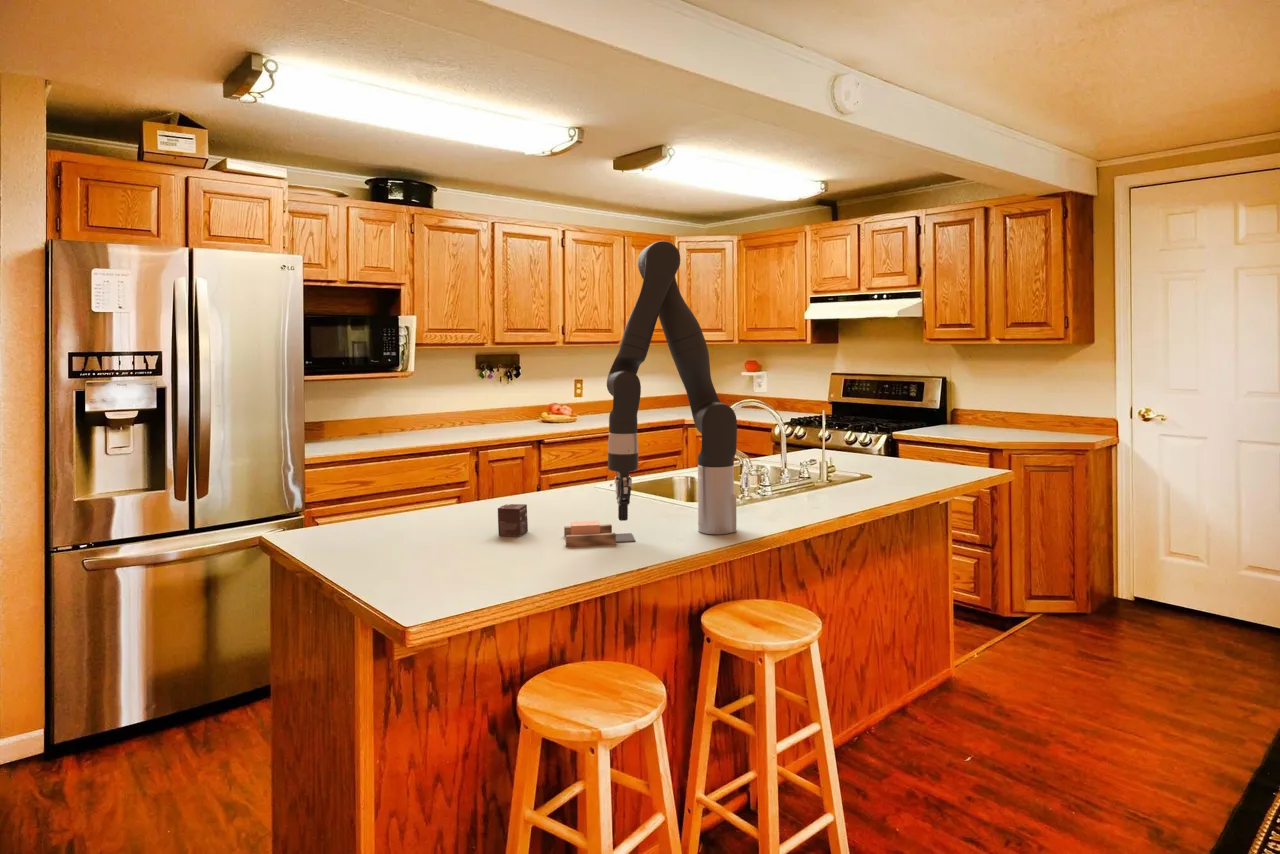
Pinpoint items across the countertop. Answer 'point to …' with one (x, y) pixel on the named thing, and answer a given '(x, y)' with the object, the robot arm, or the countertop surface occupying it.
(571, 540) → the brown wooden channel
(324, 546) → the countertop surface
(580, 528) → the block
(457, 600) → the countertop surface
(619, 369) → the robot arm
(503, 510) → the box
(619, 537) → the mat
